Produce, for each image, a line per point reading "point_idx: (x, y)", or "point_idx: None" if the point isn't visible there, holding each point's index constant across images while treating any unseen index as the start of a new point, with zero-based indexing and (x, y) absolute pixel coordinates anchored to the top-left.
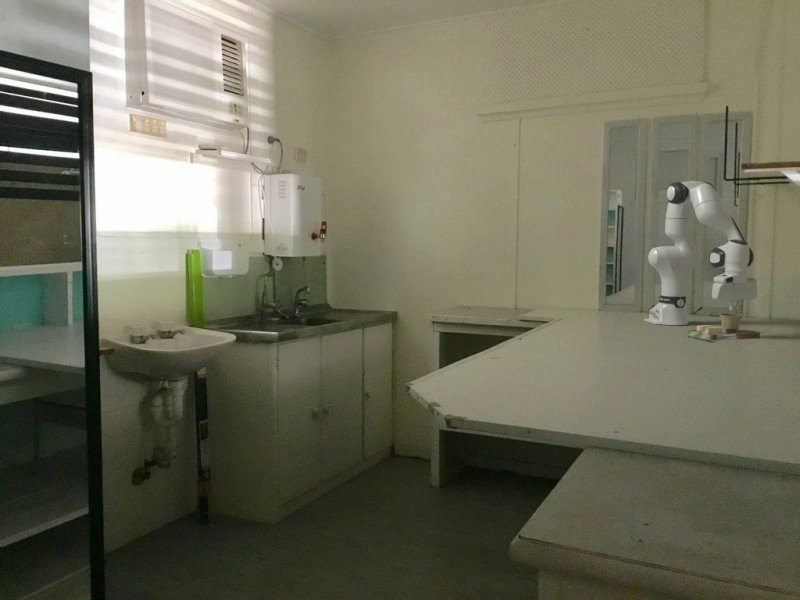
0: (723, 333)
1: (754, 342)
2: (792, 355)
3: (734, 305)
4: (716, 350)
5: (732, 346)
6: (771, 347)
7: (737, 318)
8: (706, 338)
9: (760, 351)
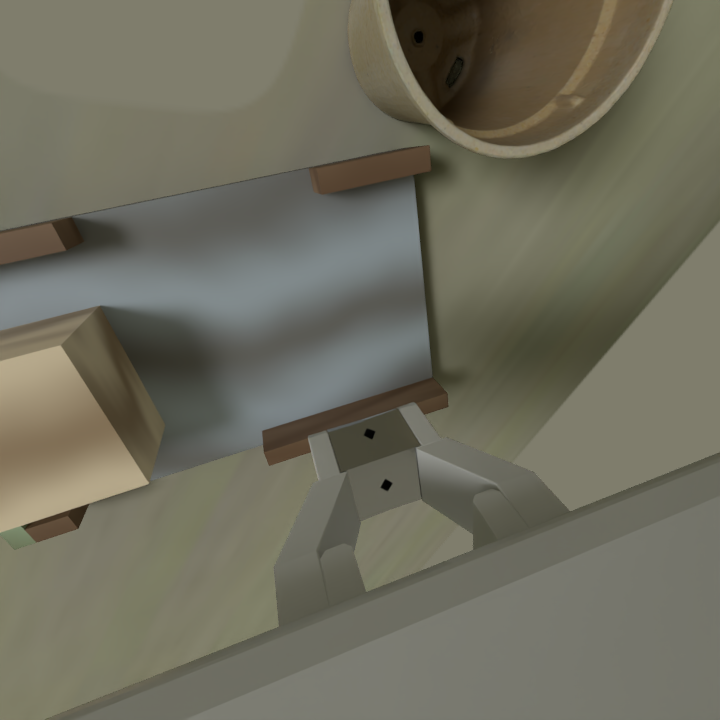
0: (281, 185)
1: None
2: None
3: (412, 462)
4: (13, 701)
5: (153, 591)
6: None
7: (505, 143)
8: None
9: None
